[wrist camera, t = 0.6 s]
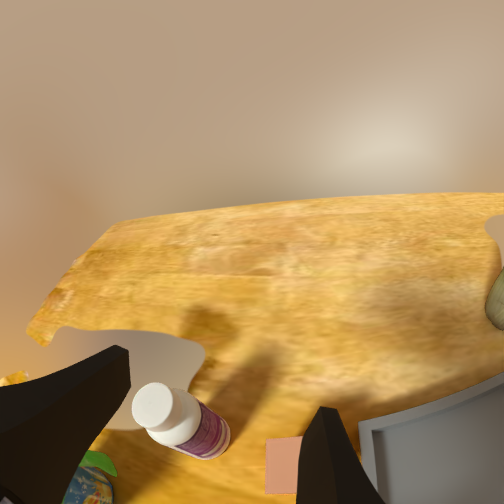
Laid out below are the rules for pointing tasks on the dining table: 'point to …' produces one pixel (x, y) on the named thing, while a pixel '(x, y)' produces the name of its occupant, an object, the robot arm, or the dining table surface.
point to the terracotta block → (282, 465)
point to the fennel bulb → (496, 302)
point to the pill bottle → (180, 421)
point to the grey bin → (440, 449)
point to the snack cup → (91, 481)
